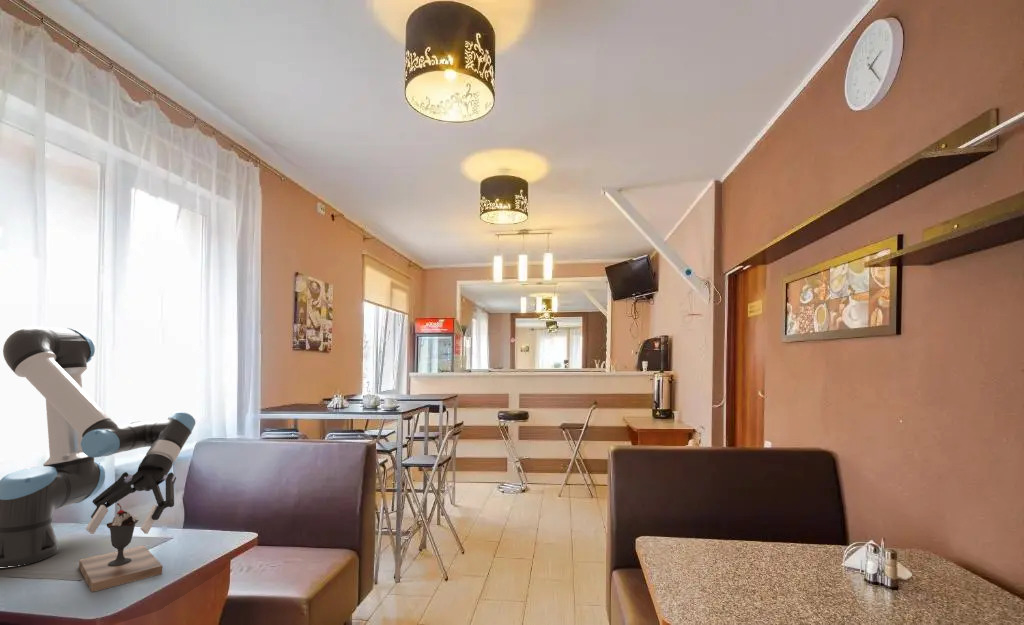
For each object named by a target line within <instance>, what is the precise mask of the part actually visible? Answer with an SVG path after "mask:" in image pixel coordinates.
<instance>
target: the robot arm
mask: <svg viewBox="0 0 1024 625" xmlns="http://www.w3.org/2000/svg"><path fill="white" fill-rule="evenodd" d="M94 342H95V341H94V340H93V339H92V337H91V336H90V335H89V334H88V333H86V332H84V331H82V330H80V329H74V328H69V327H67V328H66V327H64V328H63V327H43V326H28V327H23V328H19V329H18V330H16V331H14V332H13V333H12V334H10V335H9V336H8V337H7V339H6V340H5V342H4V344H3V348H2V354H3V358H4V361H5V362H6V364H7V367H9V368H10V370H11V371H12V372H13V373H14V374H15V375H16V376H17V377H19V378H25V379H27V381H28V382H29V383H30V384H31V386H33V387H34V389H36V390H37V391H38V393H40V395H41V396H43V398H44V399H45V408H46V420H47V435H48V436H47V437H48V448H49V451H48V452H49V458H47V460H45V462H44V463H43V466H33V467H30V468H24V469H19V470H17V471H16V470H15V471H14V472H11V473H8V474H6V475H5V476H3V477H2V478H1V479H0V567H8V566H18V565H23V566H25V565H24V564H27V565H30V564H29V563H31V564H33V562H35V563H38V562H41V561H44V560H46V559H48V558H51V557H53V556H54V555H56V554H57V553H58V548H59V543H58V542H59V541H58V539H57V537H56V533H55V531H54V528H53V525H52V524H53V513H54V511H55V510H59V509H61V508H64V507H67V506H70V505H73V504H80V503H82V502H83V501H86V500H88V499H90V498H92V497H93V496H95V495H97V493H99V492H100V490H101V489H102V487H103V485H104V483H105V479H106V471H105V468H104V467H103V465H101V463H100V462H98V461H96V460H95V458H101V457H102V458H103V457H109V456H112V455H115V454H119V453H122V452H123V453H124V452H127V451H131V450H136V449H141V448H146V447H148V448H149V449H148V450H147V452H146V454H145V456H144V457H143V458H142V461H141V462H140V464H139V465H138V469H137V471H136V472H135V473H134V474H129V473H128V472H127V471H126V472H123V473H122V474H121V475H120V477H119V478H118V479H117V480H116V481H114V482H113V483H112V484H111V485H110V486H108V487H107V488H106V489H105V490H104V491H102V492H101V493H100V494H99V495H97V496H96V497H95V498H94V499H93V500H92V501H91V502H92V503H93V505H94V506H95V507H96V508H95V509H94V510H93V512H92V514H91V516H90V518H91V519H90V521H89V523H88V524H87V525H86V527H85V530H86V531H87V532H88V533H90V534H91V535H93V534H95V533H96V531H97V530H98V528H99V526H100V525H101V523H102V521H103V520H104V518H105V516H106V515H107V514H108V512H109V509H108V508H109V507H111V506H113V505H114V504H117V502H119V501H121V500H122V499H123V498H125V497H127V496H128V495H130V494H134V493H135V492H142V491H146V492H150V491H152V493H153V496H154V499H155V501H156V504H153V505H152V507H151V508H150V511H149V512H148V514H147V516H146V518H145V519H144V521H143V523H142V525H141V526H140V528H139V529H140V530H141V531H142V533H143V534H149V532H150V530H151V529H152V527H153V524H154V523H155V521H158V520H159V519H160V517H161V515H162V514H163V512H164V510H165V509H167V508H173V507H174V506H175V482H176V480H177V477H176V476H175V474H174V473H173V471H172V472H170V471H171V469H172V467H173V465H174V464H175V462H176V460H177V459H178V456H179V454H180V453H181V451H182V449H183V447H184V446H185V444H186V442H187V440H188V439H189V437H190V436H191V435H192V433H193V430H194V429H195V428H194V427H195V426H196V419H195V418H194V416H193V415H191V414H189V413H187V412H185V411H184V412H183V411H175V412H173V413H171V414H170V416H169V417H168V418H167V420H158V421H135V422H128V423H125V424H122V425H117V423H115V422H114V420H112V419H111V417H109V415H107V413H106V412H105V411H104V410H103V408H101V407H100V406H99V404H97V403H96V401H94V399H93V398H91V396H90V395H89V394H88V393H87V392H86V391H85V390H84V389H83V382H82V374H83V373H84V372H85V371H87V369H88V366H87V364H88V363H89V362H90V361H91V360H92V357H94V355H95V351H96V345H95V343H94ZM164 481H165V499H164V497H163V494H162V491H161V489H160V486H159V485H160V484H162V483H163V482H164ZM132 486H133V487H132ZM90 534H89V535H90ZM43 559H44V560H43ZM40 560H41V561H40ZM37 561H38V562H37ZM18 567H19V566H18Z"/></svg>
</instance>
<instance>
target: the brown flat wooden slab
mask: <svg viewBox="0 0 1024 625" xmlns="http://www.w3.org/2000/svg"><path fill="white" fill-rule="evenodd" d="M117 555H118V550H117V551H113V552H112V551H111V552H107V553H104V554H98V555H95V556H94V555H93V556H90V557H86V558H82V559H79V561H78V569H79V571H80V572H81V574H82V576H83V578H84V581H85V582H86V583H87V585H88V586H87V587H90V588H89V589H90V591H91V592H92V593H94V592H93V591H95V592H98V591H101V590H105V589H109V588H114V587H117V586H121V585H124V584H125V585H126V584H128V583H132V582H133V583H134V582H135V581H136V582H137V581H140V580H143V579H147V578H151V576H152V577H155V576H158V575H162V574H163V567H164V566H163V564H162V563H161V562H160V561H159V560H158V559H157V558H156V557H155V555H154V554H152V553H151V551H150V550H149V549H148V548H147V547H146V546H145V545H140V546H139V545H138V546H135V547H130V548H126V549H125V548H124V550H123V555H124V557H125V558H131V559H132V560H131V561H130V562H129V563H127V564H124V565H120V566H108V563H109V562H111V561H113V560H115V559H116V558H117Z"/></svg>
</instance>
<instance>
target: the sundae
mask: <svg viewBox="0 0 1024 625" xmlns="http://www.w3.org/2000/svg"><path fill="white" fill-rule="evenodd" d="M116 505H117V506H118V507H119V508H120V510H118V511H117V513H116V515H115V517H113V519H112V521H111V522H109V523H106V527H107V528H108V529H109V530H110V532H109V533H110V541H111V546H112V547H113V548H114V549H115V550H116V549H117V551H118V555H117V558H116V559H115V560H113V561H111V562H109V563H108V566H120V565H124V564H127V563H129V562H130V561H131V560H132V559H131V558H125V557H124V555H123V550H125V548H126V547H128V546H129V544H131V542H132V539H133V535H134V531H135V530H134V529H135V526H136V524H137V523H138V522H139V519H135V518H133V516H132V514H131V513H129V512H128V511H125V510H124V509H122V506H121V504H120V502H119V503H117V502H116Z"/></svg>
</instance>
